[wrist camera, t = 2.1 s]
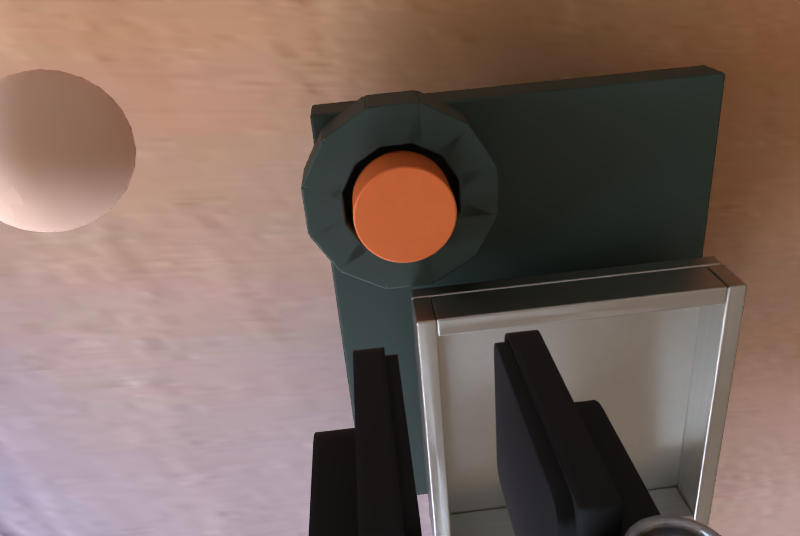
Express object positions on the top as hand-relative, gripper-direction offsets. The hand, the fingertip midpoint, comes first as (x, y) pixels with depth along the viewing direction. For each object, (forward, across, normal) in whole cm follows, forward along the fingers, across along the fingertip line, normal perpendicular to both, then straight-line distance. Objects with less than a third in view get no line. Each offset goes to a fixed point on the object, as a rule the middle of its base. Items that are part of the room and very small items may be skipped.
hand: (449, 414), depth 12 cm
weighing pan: (+10, -5, +8) cm, 14 cm away
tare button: (+11, 0, 0) cm, 11 cm away
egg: (+13, +10, -2) cm, 17 cm away
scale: (+13, -4, +6) cm, 15 cm away
